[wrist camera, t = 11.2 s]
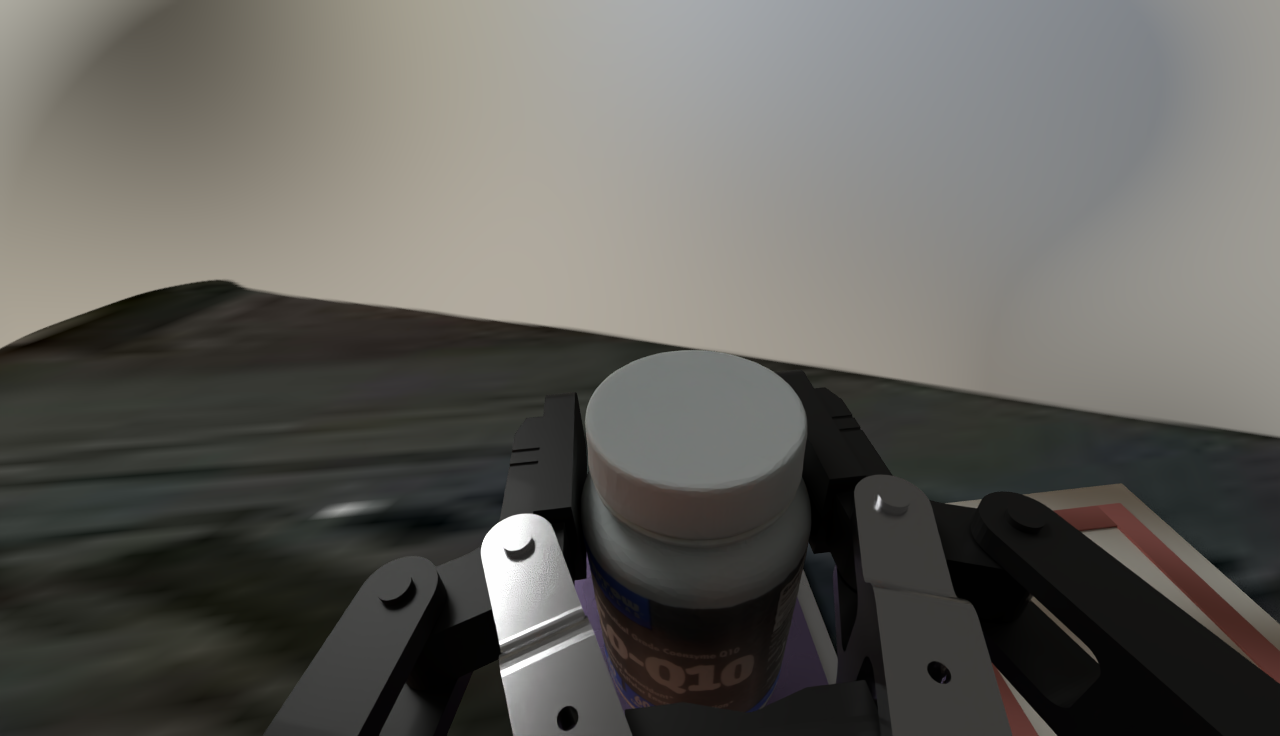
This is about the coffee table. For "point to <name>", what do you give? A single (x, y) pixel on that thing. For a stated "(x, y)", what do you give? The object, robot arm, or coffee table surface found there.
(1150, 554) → the marked board
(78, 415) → the coffee table surface
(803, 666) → the ink pad
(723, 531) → the pill bottle
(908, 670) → the robot arm
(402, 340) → the coffee table surface
